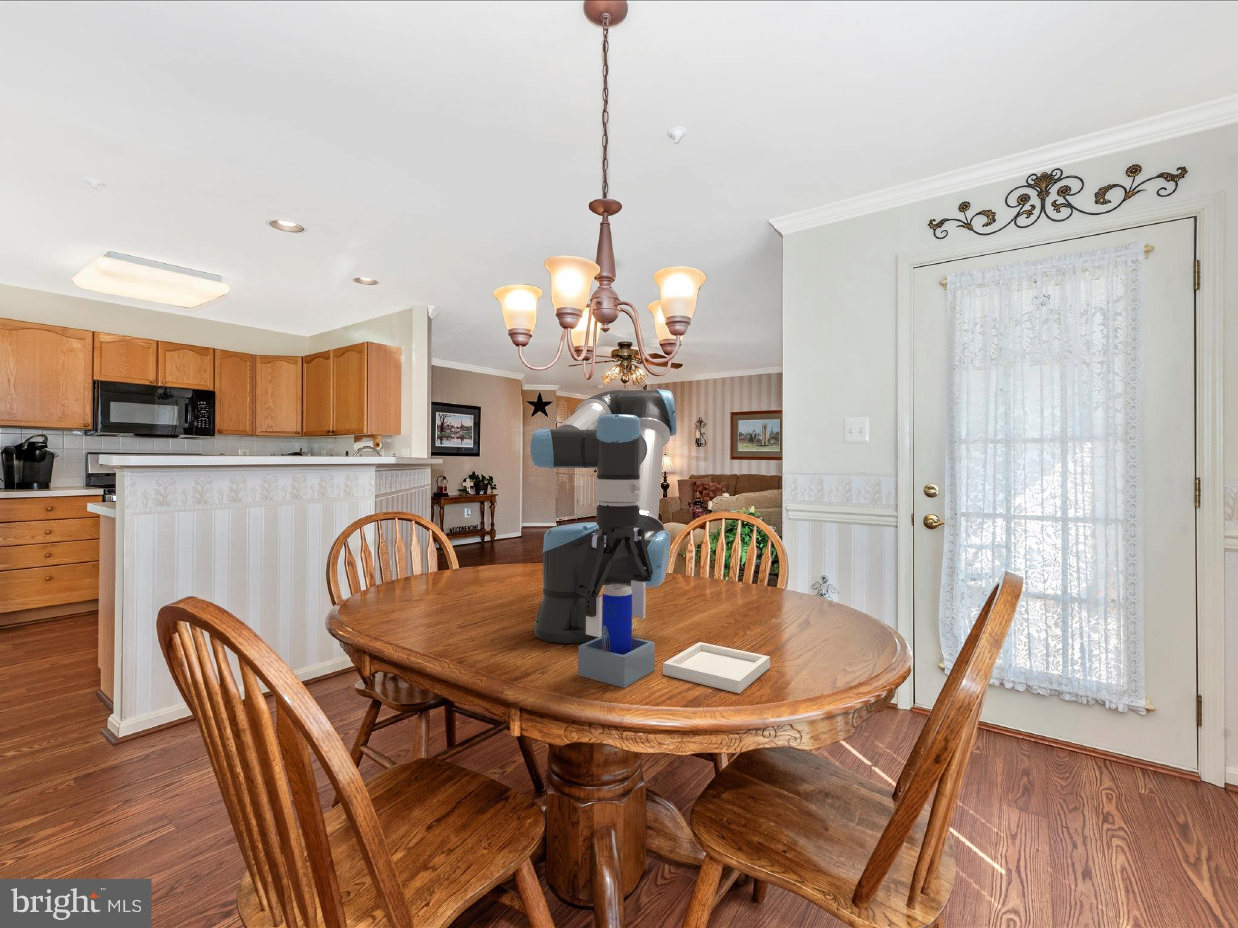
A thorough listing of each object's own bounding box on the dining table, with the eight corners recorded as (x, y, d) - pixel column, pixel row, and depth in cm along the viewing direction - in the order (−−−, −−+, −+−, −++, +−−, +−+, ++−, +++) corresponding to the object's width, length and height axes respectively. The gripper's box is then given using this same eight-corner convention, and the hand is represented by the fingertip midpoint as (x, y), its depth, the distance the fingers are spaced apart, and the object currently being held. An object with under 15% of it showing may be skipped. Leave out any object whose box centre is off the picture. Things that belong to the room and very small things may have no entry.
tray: (663, 674, 100) (663, 662, 100) (699, 652, 111) (699, 641, 111) (739, 693, 92) (739, 680, 92) (769, 667, 103) (769, 656, 103)
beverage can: (601, 667, 103) (601, 583, 102) (629, 666, 103) (630, 583, 103) (602, 678, 97) (603, 590, 97) (633, 677, 98) (633, 590, 98)
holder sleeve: (577, 675, 99) (578, 646, 99) (610, 659, 107) (610, 632, 107) (624, 687, 94) (624, 657, 94) (654, 670, 101) (654, 642, 101)
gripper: (592, 509, 88) (591, 648, 88) (672, 500, 108) (670, 613, 108) (554, 507, 92) (553, 639, 92) (638, 498, 112) (637, 607, 113)
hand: (617, 625), depth 100 cm, fingers open, 13 cm apart
